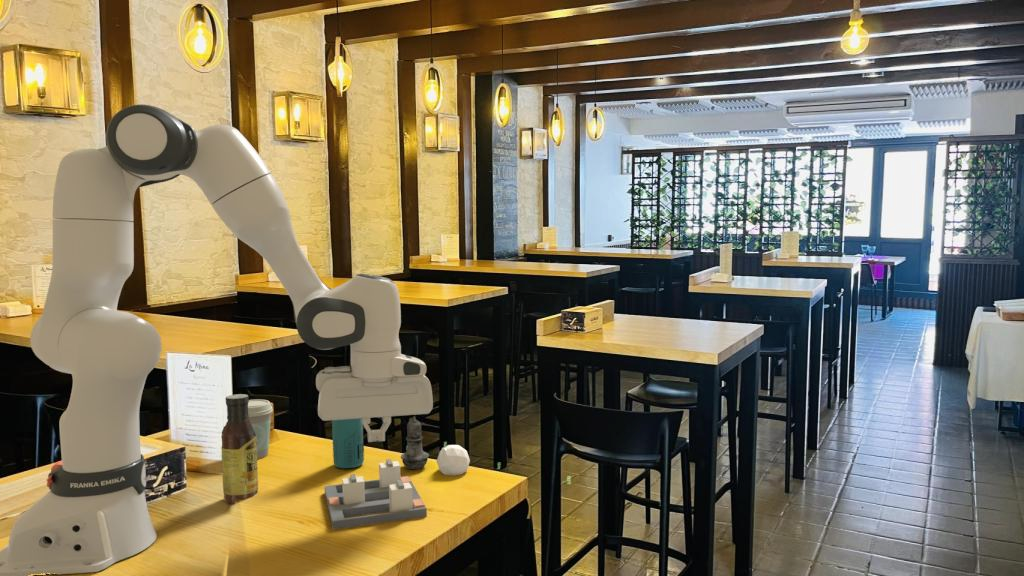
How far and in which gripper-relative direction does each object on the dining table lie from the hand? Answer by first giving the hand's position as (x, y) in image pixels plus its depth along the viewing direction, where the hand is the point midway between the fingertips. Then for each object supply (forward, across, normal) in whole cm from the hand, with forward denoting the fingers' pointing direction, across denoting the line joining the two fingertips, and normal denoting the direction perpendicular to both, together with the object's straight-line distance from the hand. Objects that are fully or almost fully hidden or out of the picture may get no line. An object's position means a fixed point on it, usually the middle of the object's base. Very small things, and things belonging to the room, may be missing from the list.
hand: (376, 440), depth 129 cm
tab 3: (+12, +4, -5) cm, 13 cm away
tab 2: (+12, +4, +7) cm, 14 cm away
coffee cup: (+13, -22, +40) cm, 48 cm away
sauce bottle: (+14, -24, +14) cm, 31 cm away
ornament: (+13, +18, +13) cm, 25 cm away
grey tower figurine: (+13, +10, +18) cm, 24 cm away
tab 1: (+12, -4, +1) cm, 13 cm away
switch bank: (+13, 0, +1) cm, 13 cm away
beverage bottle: (+13, -3, +24) cm, 27 cm away
